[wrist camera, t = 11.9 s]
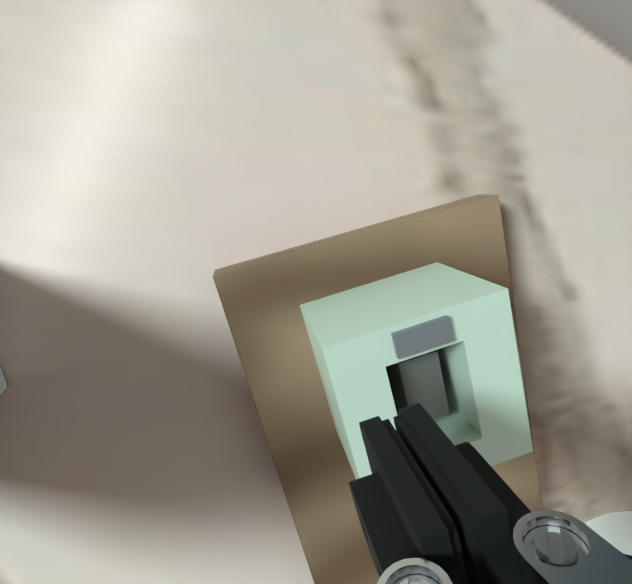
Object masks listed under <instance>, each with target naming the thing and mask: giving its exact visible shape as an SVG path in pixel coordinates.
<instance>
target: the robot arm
mask: <svg viewBox="0 0 632 584" xmlns="http://www.w3.org/2000/svg"><path fill="white" fill-rule="evenodd" d="M394 424H395V428H396V430H395V428H394V427H393V425H392V424H391V422H390V420H389V419H386V420H383V421H382V420H381V418H380V417H379V416H377V417H374V418H371V419H368V420H365V421H362V422H359V426H360V430H361V434H362V438H363V441H364V445H365V449H366V453H367V457H368V461H369V464H370V468H371V472H372V474H371V475H368V476H365V477H362V478H359V479H356V480H353V481H350V482H349V486H350V490H351V493H352V497H353V501H354V504H355V508H356V511H357V514H358V518H359V521H360V524H361V527H362V530H363V533H364V536H365V539H366V542H367V545H368V548H369V550H370V553H371V556H372V559H373V562H374V564H375V567H376V570H377V573H378V576H379V580H378V583H377V584H632V556H631V555H627V554H624V553H622V552H620V551H619V550H618V549H616V548H615V547H614V546H613V545H611V544H610V543H609V542H607V541H606V540H605V539H604V538H602V537H601V536H600V535H599V534H597V533H596V532H595V531H593V530H592V529H591V528H590V527H588V526H587V525H586V524H584V523H583V522H581V521H580V520H578V519H576V518H575V517H573V516H571V515H568V514H565V513H562V512H559V511H552V510H540V511H534V512H531V511H530V510H529V508H528V507H527V506H526V505H525V504H524V503H523V502H522V501H521V499H520V498H519V497H518V496H517V495H516V494H515V493H514V492H513V491H512V489H511V488H510V487H509V486H508V485H507V484H506V483H505V482H504V480H503V479H502V478H501V477H500V476H499V475H498V474H497V473H496V471H495V470H494V469H493V468H492V467H491V466H490V465H489V464H488V462H487V461H486V460H485V459H484V458H483V457H482V456H481V455H480V453H479V452H478V451H477V450H476V449H475V448H474V447H473V446H472V445H471V444H470V443H469V442H463V443H461V444H458V445H454V444H453V443H452V442H451V440H450V439H449V438H448V437H447V436H446V434H445V433H444V432H443V431H442V429H441V428H440V427H439V426H438V425H437V423H436V422H435V421H434V420H433V419H432V417H431V416H430V415H429V414H428V412H427V411H426V410H425V409H424V408H423V406H422V405H421V404H420V403H416V404H413V405H410V406H407V407H404V408H401V409H399V415H398V416H395V417H394Z"/></svg>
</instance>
